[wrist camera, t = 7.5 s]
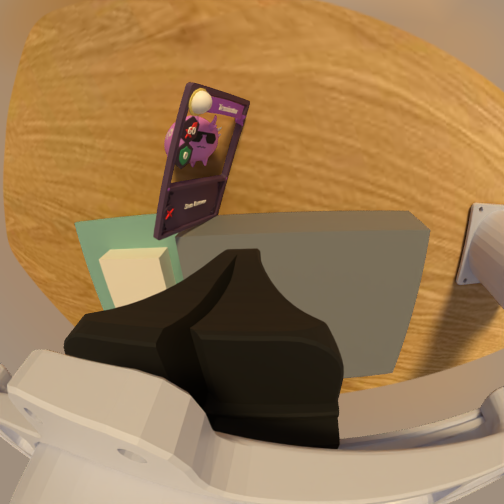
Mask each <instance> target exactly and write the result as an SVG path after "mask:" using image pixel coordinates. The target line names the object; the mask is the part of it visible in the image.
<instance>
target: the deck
mask: <svg viewBox="0 0 504 504" xmlns="http://www.w3.org/2000/svg"><path fill="white" fill-rule="evenodd" d="M429 235H430V229H429V228H428V227H426V226H425V225H424V224H423V223H422V222H421V221H420V220H418V219H417V218H416V217H415V216H414V215H413V214H411V213H410V212H409V211H313V212H279V213H254V214H233V215H217V216H216V217H214V218H212V219H211V220H208V221H206V222H203V223H201V224H198V225H196V226H193V227H191V228H189V229H186V230H184V231H181V232H179V233H178V234H177V235H176V236H175V241H176V246H177V251H178V256H179V261H180V266H181V270H182V275H183V279H186V278H187V277H189V276H190V275H191V274H193V273H194V272H196V271H197V270H199V269H200V268H202V267H203V266H204V265H206V264H207V263H208V262H210V261H211V260H212V259H214V258H215V257H216V256H218V255H219V254H220V253H222V252H223V251H225V250H226V249H252V248H258V249H259V250H260V252H261V262H262V265H263V267H264V269H265V271H266V273H267V275H268V276H269V278H270V280H271V281H272V283H273V284H274V285H275V287H276V288H277V289H278V290H279V292H280V293H281V294H282V295H283V296H284V297H285V298H286V299H287V300H288V301H290V302H291V303H292V304H293V305H294V306H296V307H297V308H299V309H300V310H302V311H303V312H305V313H307V314H309V315H311V316H313V317H315V318H317V319H319V320H322V321H324V322H325V323H326V324H327V325H328V327H329V329H330V331H331V333H332V335H333V337H334V339H335V341H336V343H337V346H338V348H339V351H340V354H341V357H342V360H343V365H344V377H343V378H351V377H362V376H371V375H380V374H387V373H393V370H394V367H395V365H396V362H397V359H398V356H399V354H400V351H401V348H402V345H403V342H404V339H405V336H406V333H407V329H408V326H409V323H410V319H411V316H412V312H413V309H414V305H415V301H416V298H417V294H418V290H419V286H420V281H421V277H422V272H423V268H424V263H425V258H426V253H427V247H428V241H429Z"/></svg>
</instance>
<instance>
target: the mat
mask: <svg viewBox="0 0 504 504" xmlns="http://www.w3.org/2000/svg"><path fill="white" fill-rule="evenodd" d="M156 215H157V214H146V215H136V216H126V217H116V218H107V219H98V220H89V221H81V222H76V223H75V227H76V231H77V234H78V238H79V241H80V244H81V248H82V251H83V254H84V257H85V260H86V263H87V266H88V269H89V272H90V275H91V278H92V281H93V283H94V286H95V289H96V292H97V294H98V297H99V299H100V302H101V304H102V307H103V309H104V310H109V309H113V308H115V305H114V303H113V300H112V297H111V294H110V292H109V289H108V286H107V283H106V280H105V277H104V274H103V271H102V268H101V265H100V262H99V259H100V258H101V257H102V256H103V255H104V254H105V253H107V252H108V251H109V250H110V249H134V248H159V247H168V251H169V255H170V260H171V264H172V269H173V273H174V277H175V281H176V284H177V283H179V282H181V281H182V280H184V279H183V275H182V270H181V266H180V261H179V256H178V251H177V246H176V241H175V236H176V235H177V234H178V233H176V234H174V235H172V236H169V237H167V238H164V239H162V240H157V239H155V238H154V237H153V234H154V227H155V221H156Z"/></svg>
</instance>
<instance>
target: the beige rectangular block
mask: <svg viewBox="0 0 504 504" xmlns="http://www.w3.org/2000/svg"><path fill="white" fill-rule="evenodd" d="M99 262H100V265H101V268H102V271H103V274H104V277H105V280H106V283H107V286H108V289H109V292H110V294H111V297H112V300H113V303H114V305H115V308H117V307H121V306H124V305H128V304H131V303H134V302H137V301H140V300H143V299H145V298H147V297H150V296H152V295H155V294H157V293H159V292H162V291H164V290H166V289H168V288H170V287H172V286H174V285H175V284H176V281H175V277H174V273H173V269H172V264H171V260H170V255H169V251H168V247H159V248H134V249H110V250H109V251H108V252H107V253H105V254H104V255H103V256H102V257H101V258H100V259H99Z"/></svg>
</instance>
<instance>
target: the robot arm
mask: <svg viewBox="0 0 504 504" xmlns="http://www.w3.org/2000/svg"><path fill="white" fill-rule="evenodd" d="M480 207H481V209H480V211H479V208H480ZM464 279H465V280H464ZM456 283H457V284H458V285H465V284H474V283H481V284H482V285H483V286H484V287H485V288H486V289H487V290H488V291H489V293H490V294H491V295H492V296H493V297H494V298H495V299H496V301H497V302H498V303H499V304H500V305H501V307H502V308H503V309H504V205H500V204H488V203H474V204H473V205H472V207H471V212H470V219H469V225H468V230H467V235H466V240H465V245H464V250H463V254H462V258H461V262H460V266H459V270H458V274H457V278H456ZM64 351H65V354H62V353H58V352H54V351H51V350H33V351H32V353H31V354H30V355H29V356H28V358H27V359H26V360H25V362H24V363H23V364H22V365H21V367H20V368H19V369H18V371H17V372H16V373H15V375H14V376H13V377H12V376H11V375H10V373H9V372H8V370H7V369H6V368H5V367H4V366H3V365H2V364H1V363H0V437H1V438H3V439H4V440H5V441H6V442H8V443H9V444H10V445H12V446H13V447H14V448H16V449H17V450H18V451H20V452H21V453H22V454H24V455H25V456H27V457H28V458H29V459H30V460H29V462H28V464H27V466H26V468H25V470H24V472H23V474H22V476H21V478H20V480H19V483H18V485H17V487H16V489H15V491H14V493H13V496H12V498H11V500H10V503H9V504H448V503H451V502H453V501H455V500H457V499H460V498H462V497H464V496H466V495H468V494H471V493H473V492H474V491H477V490H479V489H481V488H483V487H485V486H487V485H488V484H490V483H492V482H494V481H496V480H498V479H499V478H501V477H503V476H504V386H503V387H500V388H498V389H496V390H494V391H493V392H492V393H491V394H490V395H489V396H488V397H487V398H486V399H485V401H484V402H483V404H482V405H481V407H480V408H478V409H475V410H473V411H470V412H467V413H464V414H461V415H458V416H455V417H451V418H448V419H444V420H441V421H437V422H434V423H430V424H426V425H422V426H418V427H413V428H409V429H404V430H399V431H394V432H389V433H383V434H376V435H370V436H363V437H355V438H346V439H339V428H338V418H337V417H338V416H339V406H338V398H339V394H340V390H341V386H342V381H343V377H344V365H343V360H342V357H341V354H340V351H339V348H338V346H337V343H336V341H335V339H334V337H333V335H332V333H331V331H330V329H329V327H328V325H327V324H326V323H325V322H324V321H322V320H319V319H317V318H315V317H313V316H311V315H309V314H307V313H305V312H303V311H302V310H300V309H299V308H297V307H296V306H294V305H293V304H292V303H291V302H290V301H288V300H287V299H286V298H285V297H284V296H283V295H282V294H281V293H280V292H279V290H278V289H277V288H276V287H275V285H274V284H273V283H272V281H271V280H270V278H269V276H268V275H267V273H266V271H265V269H264V267H263V265H262V262H261V252H260V250H259V249H258V248H252V249H226V250H225V251H223V252H222V253H220V254H219V255H218V256H216V257H215V258H214V259H212V260H211V261H210V262H208V263H207V264H206V265H204V266H203V267H202V268H200V269H199V270H197V271H196V272H194V273H193V274H191V275H190V276H189V277H187V278H186V279H184V280H182V281H181V282H179V283H177V284H175V285H174V286H172V287H170V288H168V289H166V290H164V291H162V292H159V293H157V294H155V295H152V296H150V297H147V298H145V299H143V300H140V301H137V302H134V303H131V304H128V305H124V306H121V307H117V308H113V309H109V310H104V311H99V312H94V313H89V314H85V315H84V316H83V317H82V319H81V320H80V321H79V322H78V324H77V325H76V326H75V328H74V329H73V330H72V331H71V333H70V334H69V335H68V337H67V338H66V339H65V341H64Z"/></svg>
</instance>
